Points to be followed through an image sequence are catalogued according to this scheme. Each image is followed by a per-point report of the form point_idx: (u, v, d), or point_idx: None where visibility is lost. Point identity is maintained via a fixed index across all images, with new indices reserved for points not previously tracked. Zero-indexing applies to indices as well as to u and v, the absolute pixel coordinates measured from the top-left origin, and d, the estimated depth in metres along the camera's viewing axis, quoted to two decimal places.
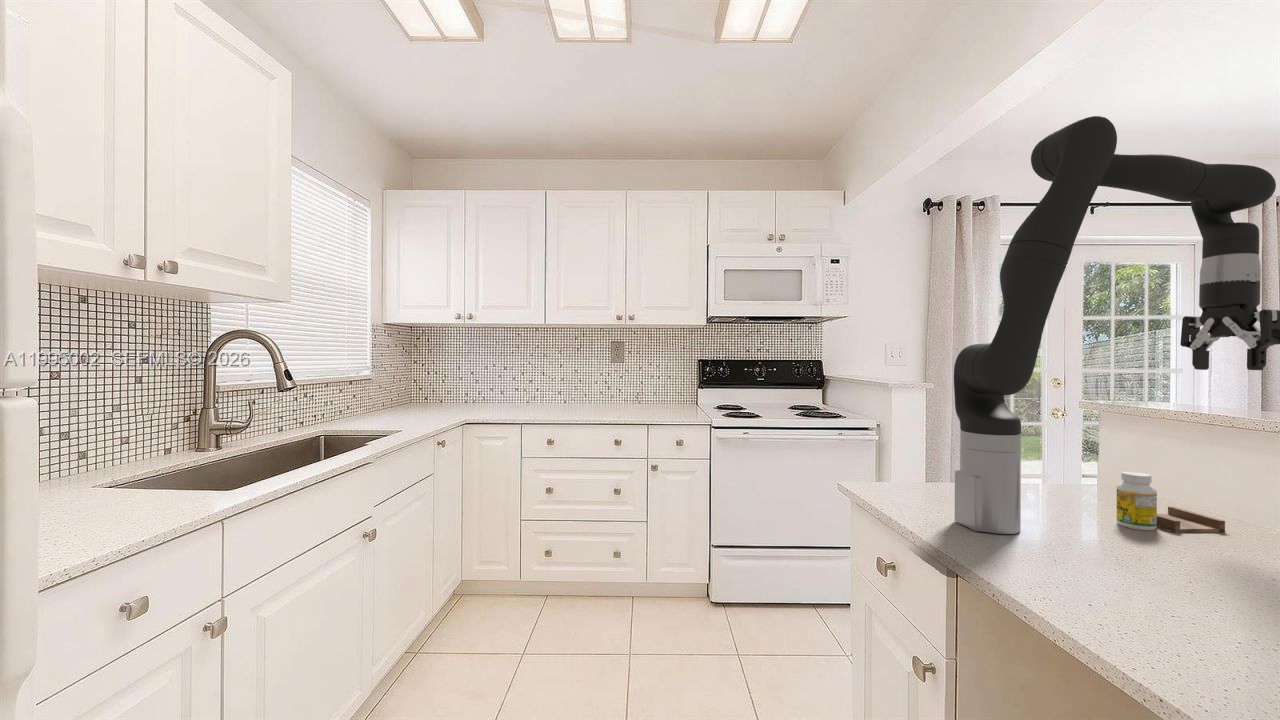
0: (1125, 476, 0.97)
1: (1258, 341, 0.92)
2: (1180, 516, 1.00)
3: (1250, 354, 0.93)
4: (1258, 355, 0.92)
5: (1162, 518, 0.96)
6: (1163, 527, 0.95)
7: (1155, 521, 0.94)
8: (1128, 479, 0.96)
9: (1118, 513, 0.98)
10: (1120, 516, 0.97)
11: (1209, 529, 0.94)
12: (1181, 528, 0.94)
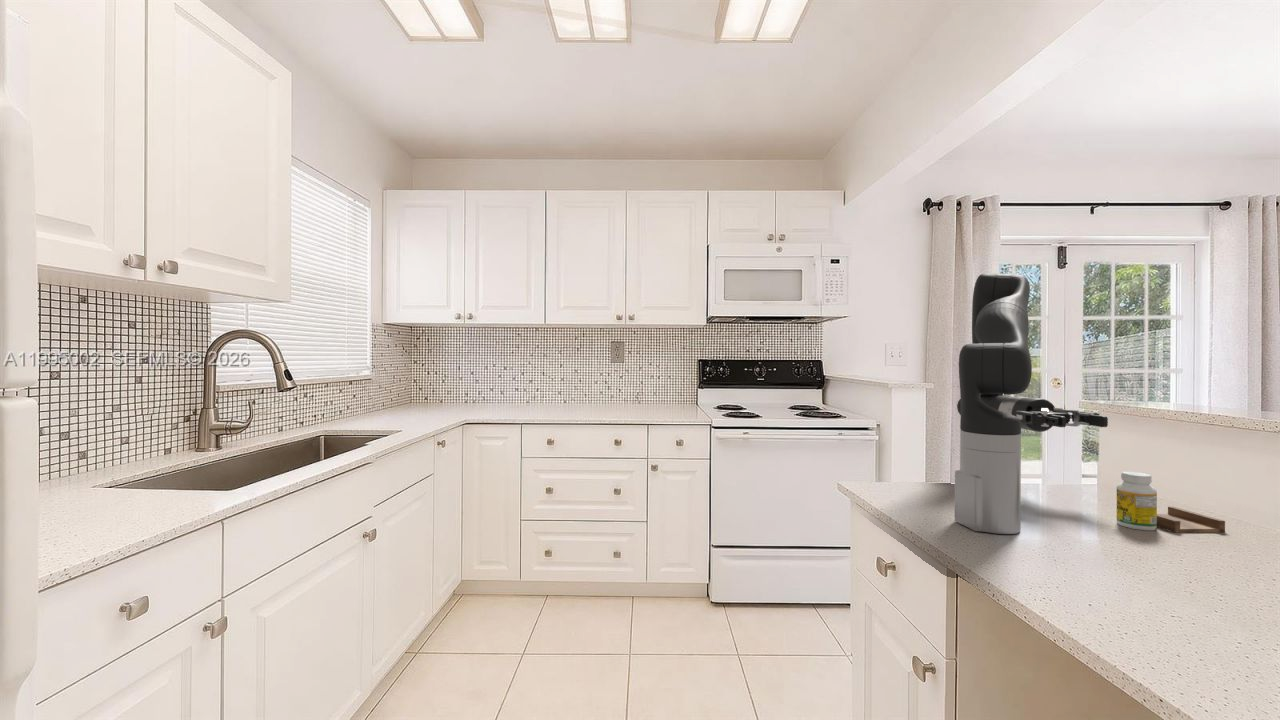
0: (1125, 476, 0.97)
1: None
2: (1180, 516, 1.00)
3: (1094, 415, 1.11)
4: None
5: (1162, 518, 0.96)
6: (1163, 527, 0.95)
7: (1155, 521, 0.94)
8: (1128, 479, 0.96)
9: (1118, 513, 0.98)
10: (1120, 516, 0.97)
11: (1209, 529, 0.94)
12: (1181, 528, 0.94)
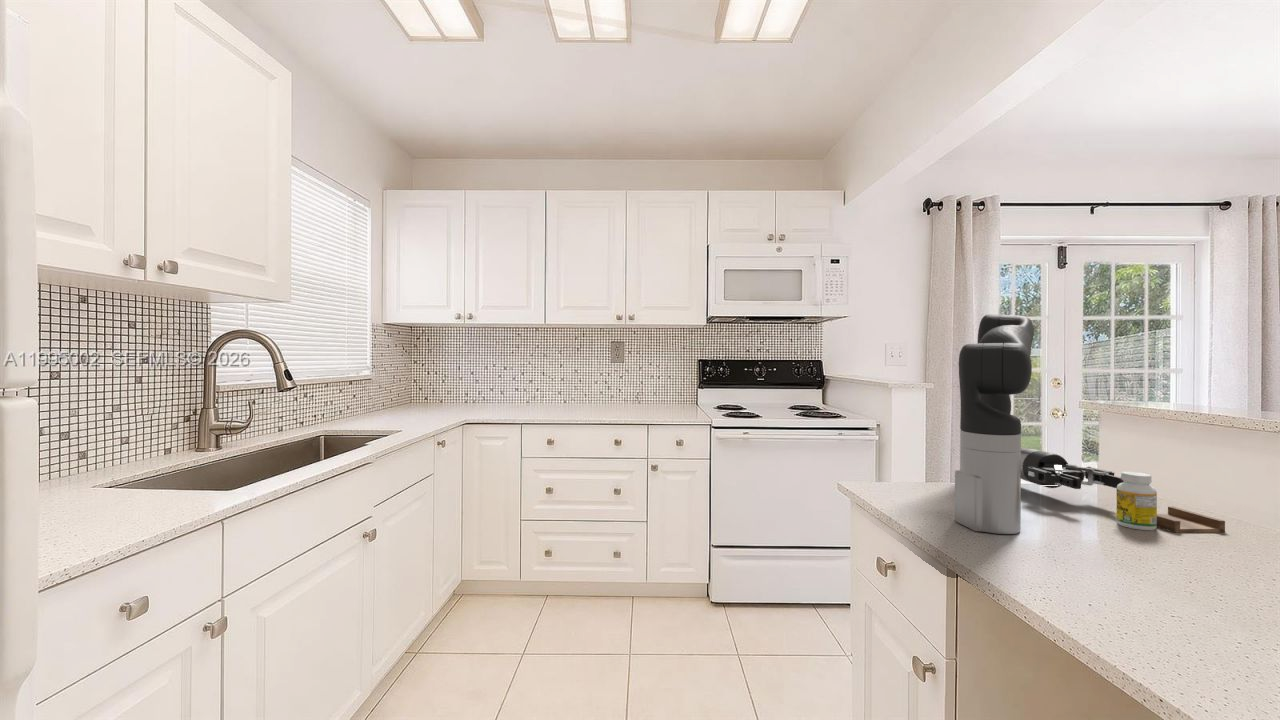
0: (1125, 476, 0.97)
1: None
2: (1180, 516, 1.00)
3: (1110, 475, 1.07)
4: None
5: (1162, 518, 0.96)
6: (1163, 527, 0.95)
7: (1155, 521, 0.94)
8: (1128, 479, 0.96)
9: (1118, 513, 0.98)
10: (1120, 516, 0.97)
11: (1209, 529, 0.94)
12: (1181, 528, 0.94)
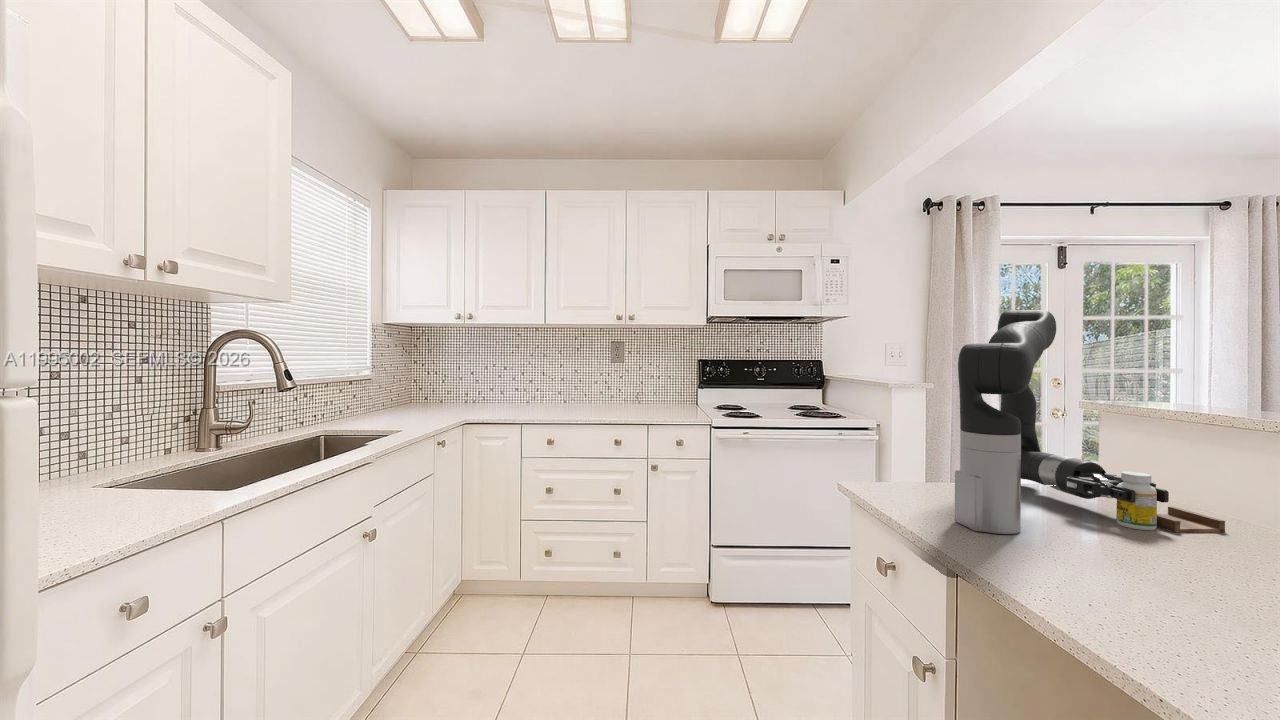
0: (1125, 476, 0.97)
1: None
2: (1180, 516, 1.00)
3: None
4: None
5: (1162, 518, 0.96)
6: (1163, 527, 0.95)
7: (1155, 521, 0.94)
8: (1128, 479, 0.96)
9: (1118, 513, 0.98)
10: (1120, 516, 0.97)
11: (1209, 529, 0.94)
12: (1181, 528, 0.94)
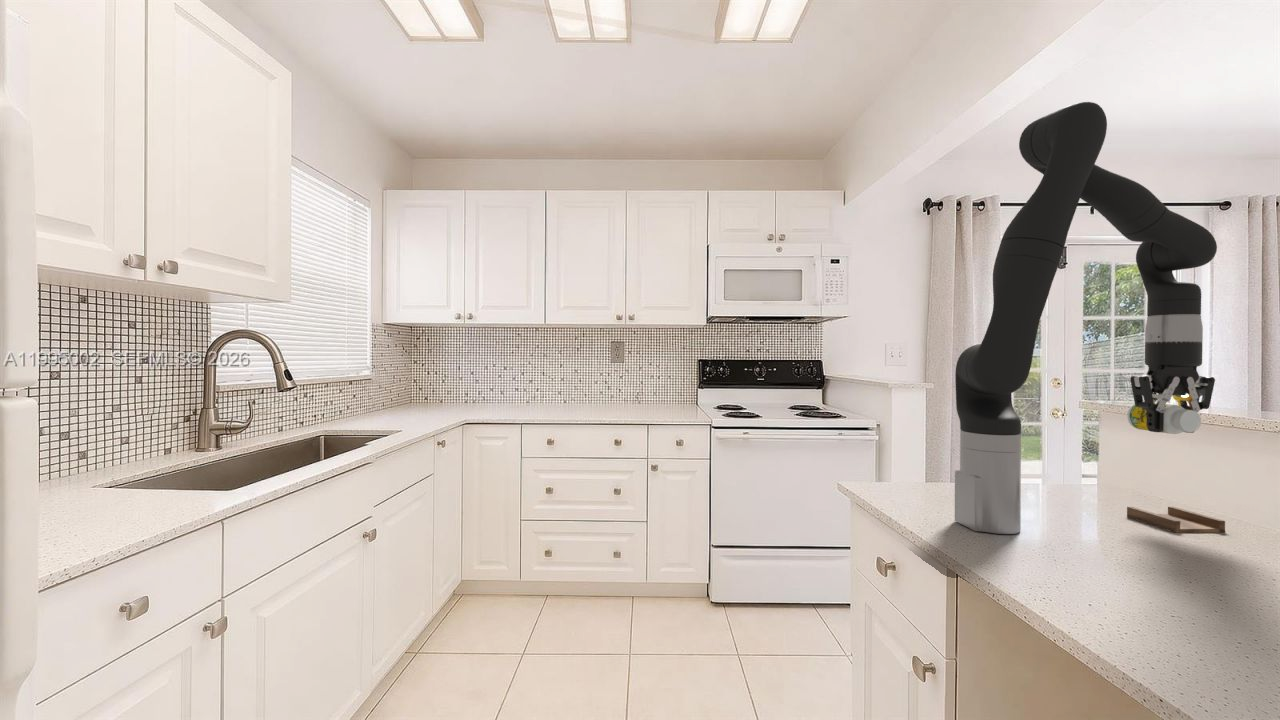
0: (1177, 420, 0.95)
1: None
2: (1180, 516, 1.00)
3: None
4: None
5: (1162, 518, 0.96)
6: (1163, 527, 0.95)
7: None
8: (1174, 423, 0.96)
9: (1137, 412, 1.02)
10: (1134, 414, 1.03)
11: (1209, 529, 0.94)
12: (1181, 528, 0.94)
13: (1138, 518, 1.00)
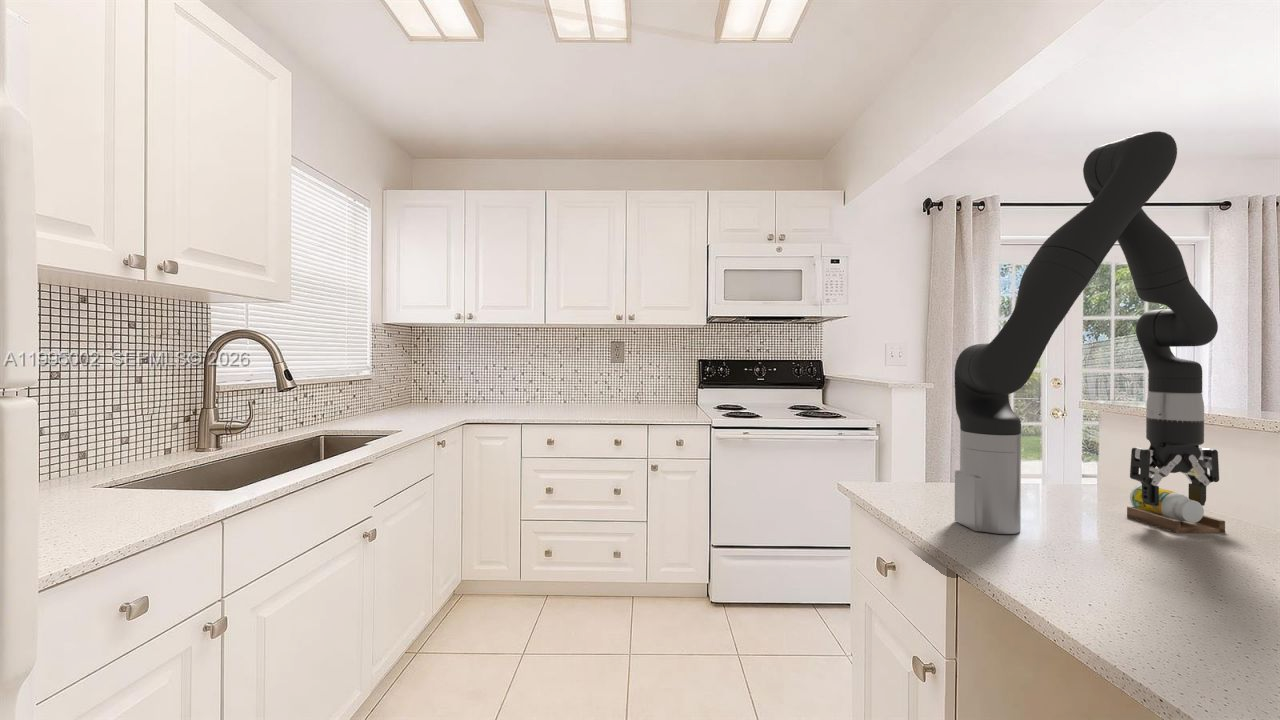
0: (1179, 510, 0.95)
1: None
2: None
3: (1203, 491, 0.97)
4: (1205, 492, 0.97)
5: (1162, 518, 0.96)
6: (1163, 527, 0.95)
7: None
8: (1176, 513, 0.95)
9: (1139, 495, 1.02)
10: (1136, 497, 1.02)
11: (1209, 529, 0.94)
12: (1181, 528, 0.94)
13: (1138, 518, 1.00)
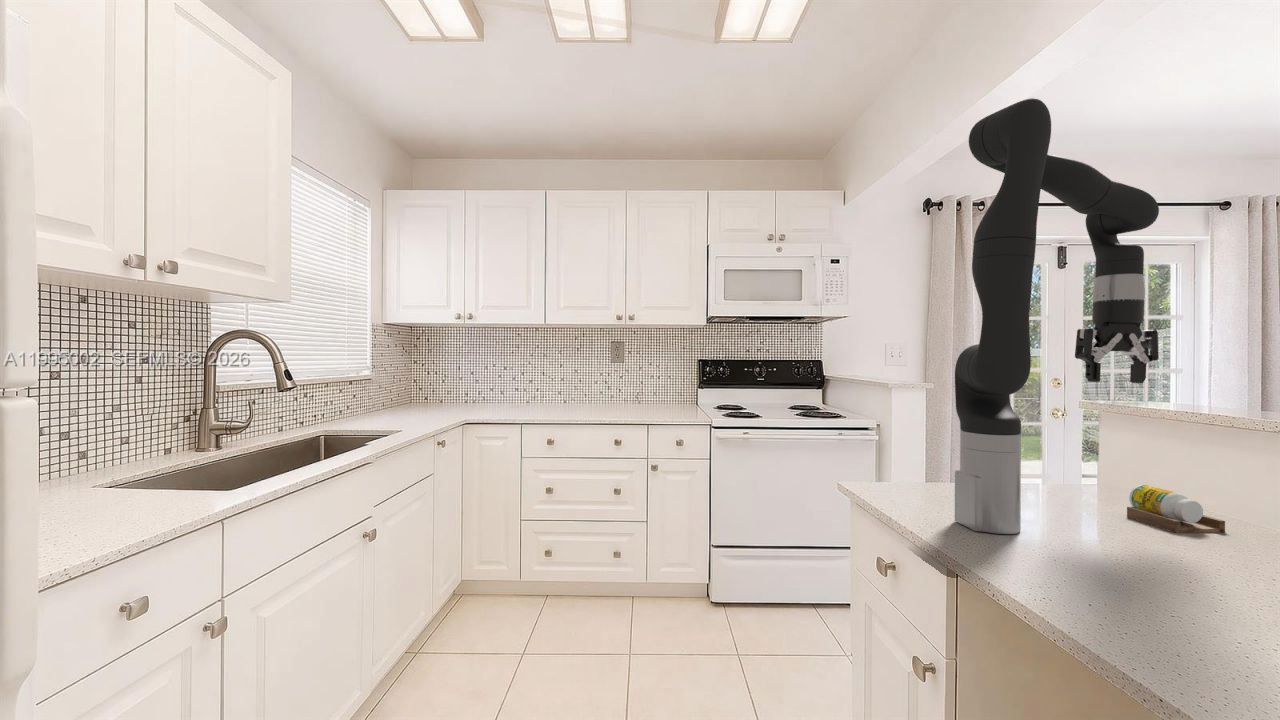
0: (1178, 511, 0.95)
1: None
2: None
3: (1143, 368, 1.03)
4: (1145, 370, 1.03)
5: (1162, 518, 0.96)
6: (1163, 527, 0.95)
7: None
8: (1176, 513, 0.95)
9: (1138, 496, 1.02)
10: (1135, 498, 1.02)
11: (1209, 529, 0.94)
12: (1181, 528, 0.94)
13: (1138, 518, 1.00)
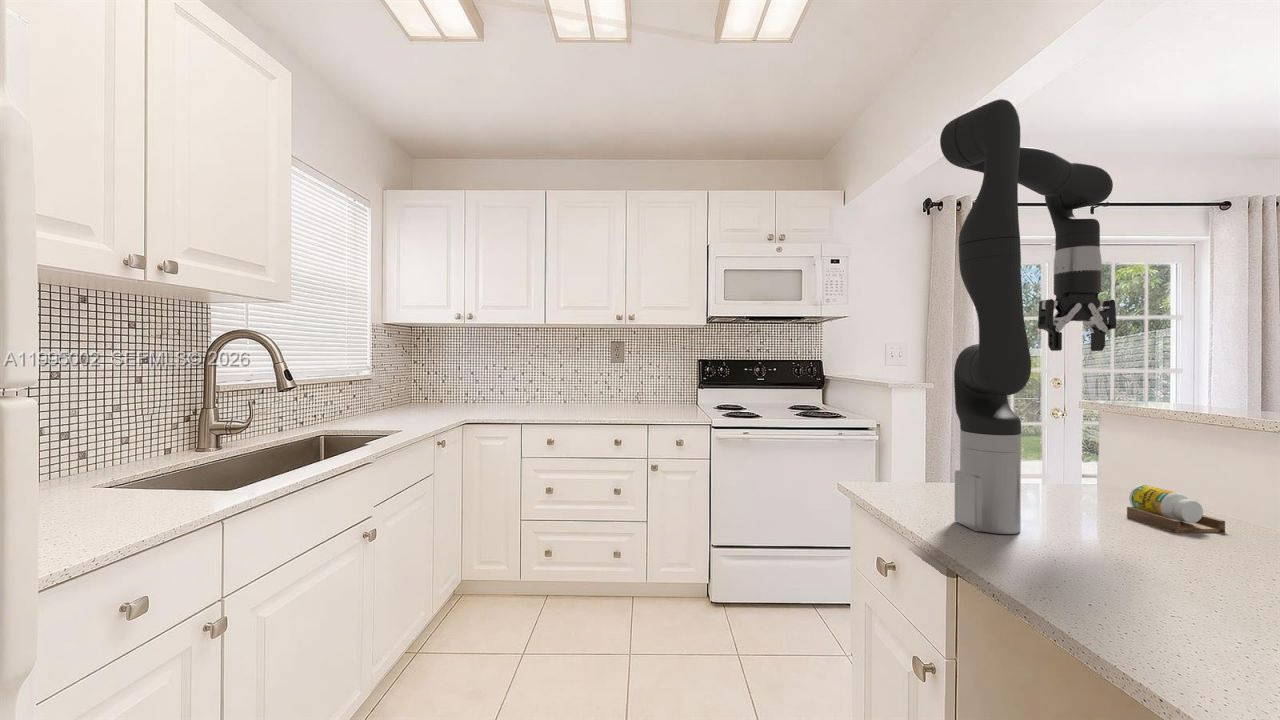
0: (1178, 511, 0.95)
1: None
2: None
3: (1102, 337, 1.08)
4: (1104, 338, 1.08)
5: (1162, 518, 0.96)
6: (1163, 527, 0.95)
7: None
8: (1176, 513, 0.95)
9: (1138, 496, 1.02)
10: (1135, 498, 1.02)
11: (1209, 529, 0.94)
12: (1181, 528, 0.94)
13: (1138, 518, 1.00)
